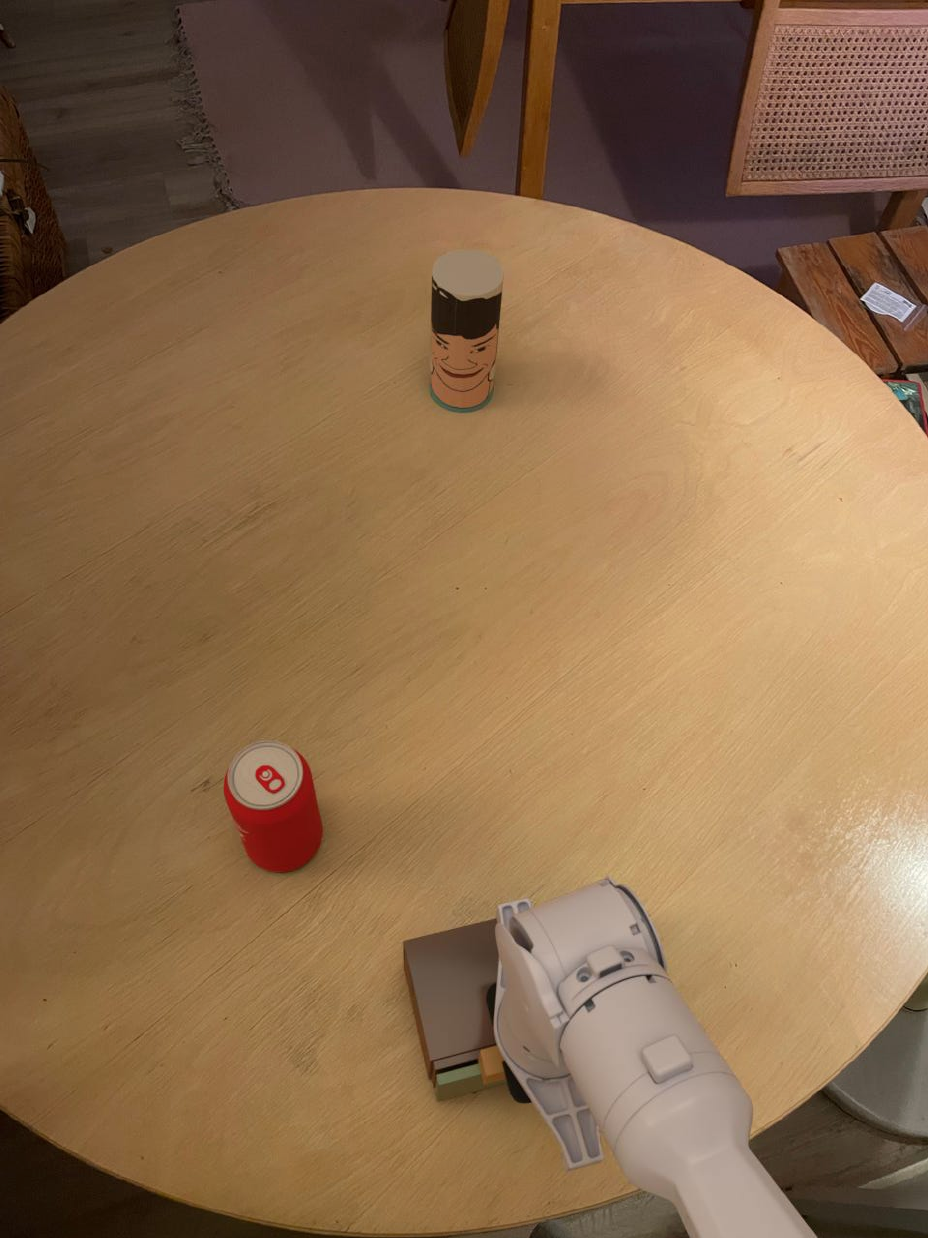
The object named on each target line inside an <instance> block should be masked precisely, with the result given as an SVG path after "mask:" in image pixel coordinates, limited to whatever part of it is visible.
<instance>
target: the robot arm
mask: <svg viewBox="0 0 928 1238" xmlns="http://www.w3.org/2000/svg"><path fill="white" fill-rule="evenodd" d="M495 919H497V922H498V923H497V924H496V926H495V936H496V942H497V947H498V952H499V961H498V973H497V982H496V983H494V984H493V985H491V986H490V988H489V989H488V991H487V994H486V1003H487V1007H488V1010H489V1014H490V1018H491V1022H492V1026H493V1028H494V1036H495V1040H496V1044H497V1046H498V1049H499V1051H500V1053H501V1055H502V1057H503V1058H504V1060H505V1061H502V1065H503V1069H504V1073H505V1077H506V1081H507V1083H506V1085H507V1088H508V1092H509V1094H510V1097H511V1098H512V1100H513V1101H514V1102H515V1103H518V1104H524V1105H525V1104H526V1105H527V1104H531V1103H532V1104H533V1106H534V1107H535V1109H536V1111H537V1112H538V1113H539V1115H540V1116H541V1118H542V1119H543V1121H544V1122H545V1125H546V1126H547V1127H548V1130H550V1132H551V1134H552V1135H553V1137H554V1138H555V1140H556V1141H557V1142H556V1143H557V1144H558V1146H559V1149H560V1151H561V1153H560V1157H561V1161H562V1165H563V1168H564V1172H565V1173H569V1172H572V1171H576V1170H580V1169H583V1168H584V1169H585V1168H587V1167H590V1166H594V1165H597V1164H600V1163H601V1162H602V1161H604V1160H605V1159H606V1156H605V1151H604V1147H603V1143H602V1137H601V1134H602V1136H603V1137H604V1140H605V1142H606V1144H607V1145H608V1147H609V1149H610V1151H611V1153H612V1155H613V1157H614V1158H615V1160H616V1162H617V1164H618V1166H619V1168H620V1170H621V1172H622V1173H623V1176H624V1177H625V1179H626V1180H627V1182H628V1183H629V1184H630V1185H632V1186H633V1187H635V1188H637V1189H639V1190H641V1191H644V1192H646V1193H649V1194H652V1195H654V1196H658V1197H660V1198H663V1199H665V1200H667V1201H669V1202H670V1203H672V1204H673V1205H674V1206H675V1209H676V1210H677V1213H678V1215H679V1217H680V1219H681V1221H682V1224H683V1225H684V1228H685V1231H686V1232H687V1235H688V1236H689V1238H818V1236H817V1235H816V1233H814V1231H813V1230H812V1228H811V1227H810V1226H809V1225H808V1223H807V1222H806V1221H805V1219H804V1218H803V1216H802V1215H801V1214H800V1213H799V1211H798V1210H797V1209H796V1207H795V1206H794V1205H793V1203H791V1201H790V1199H789V1198H788V1197H787V1196H786V1194H785V1193H784V1192H783V1190H782V1189H781V1188H780V1186H779V1185H778V1184H777V1183H776V1181H775V1180H774V1179H773V1177H772V1175H770V1173H769V1172H768V1170H766V1168H765V1166H764V1165H763V1164H762V1163H761V1161H760V1160H759V1159H758V1158H757V1156H756V1155H755V1154H754V1152H753V1151H752V1150H751V1148H750V1146H749V1144H750V1138H751V1131H752V1127H753V1126H752V1124H753V1120H754V1105H753V1102H752V1098H751V1096H750V1095H749V1093H748V1092H747V1091H746V1089H745V1088H744V1086H743V1085H742V1083H741V1082H740V1080H739V1078H738V1077H737V1075H736V1074H735V1073H734V1071H733V1070H732V1068H731V1066H730V1065H729V1064H728V1061H726V1059H725V1058H724V1056H723V1055H722V1053H721V1052H720V1050H718V1048H717V1046H716V1044H714V1042H713V1040H712V1039H711V1037H710V1036H709V1035H708V1033H707V1031H706V1030H705V1029H704V1027H703V1025H702V1024H701V1022H700V1021H699V1020H698V1018H697V1017H696V1016H695V1014H694V1013H693V1011H692V1009H691V1008H690V1007H689V1005H688V1003H687V1002H686V1001H685V999H684V997H683V995H681V993H680V991H679V990H678V989H677V987H676V986H675V983H674V982H673V981H672V980H671V978H670V976H669V975H668V967H667V966H668V965H667V960H666V955H665V950H664V947H663V944H662V941H661V938H660V936H659V933H658V931H657V928H656V926H655V923H654V921H653V919H652V918H651V917H650V914H649V911H648V910H647V908H646V907H645V905H644V903H643V902H642V900H641V899H640V898H639V896H638V895H637V894H636V892H635V891H634V890H633V889H632V888H631V887H629V886H628V885H627V884H624V883H619V884H617V883H616V882H615V881H614V879H613V878H612V877H611V876H610V875H607V876H605V877H604V879H599V880H597V881H594V882H592V883H589V884H587V885H584V886H582V887H578V888H577V889H574V890H572V891H569V892H567V893H564V894H562V895H559V896H557V897H555V898H554V897H553V898H552V899H549V900H548V901H545V902H543V903H540V904H537V905H535V906H533V905H532V901H531V899H530V897H523V898H520V899H516V900H511V901H508V902H502V903H499V904H497V907H496V911H495Z"/></svg>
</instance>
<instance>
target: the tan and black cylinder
mask: <svg viewBox="0 0 928 1238" xmlns="http://www.w3.org/2000/svg"><path fill="white" fill-rule="evenodd" d="M504 276H505V273H504V268H503V266H502V264H501V263H500V262H499V261H498V259H496V258H495V257H494V256H492V255H491V254H490V253H487V252H483V251H481V250H477V249H470V248H464V249H456V250H451V251H449V252H446V253H444V254H443V255H441V256H439V257H438V258H437V260H436V261H434V262H433V265H432V269H431V301H430V302H431V305H430V306H431V307H430V355H429V357H430V358H429V360H430V361H429V393H430V397H431V398H432V399H433V401H434V402H435V403H436V404H437V405H439V407H441V408H443V409H445V410H448V411H449V412H454V413H455V412H456V413H471V412H475V411H477V410H478V411H479V410H480V409H482V408H484V407H485V406H486V405H488V404H489V402H490V401H491V400H492V398H493V393H494V389H495V388H494V387H495V377H496V376H495V375H496V365H497V353H498V344H499V332H500V321H501V310H502V300H503V288H504V278H505V277H504Z"/></svg>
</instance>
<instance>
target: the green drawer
mask: <svg viewBox="0 0 928 1238" xmlns="http://www.w3.org/2000/svg"><path fill="white" fill-rule="evenodd" d="M502 1061H505V1060H504V1058H503V1057H502V1055H501V1053H500V1051H499V1049H498V1046H494V1047H490V1048H486V1049H482V1050H480V1054H479V1057H478V1064H474V1065H471V1066H467V1067H463V1068H459V1069H456V1070H452V1071H448V1072H444V1073H441V1074H437V1075H436V1084H435V1088H434V1097H435V1102H436V1103H439V1102H440V1103H441V1102H444V1101H448V1100H450V1099H454V1098H458V1097H462V1096H466V1095H469V1094H473V1093H477V1092H480V1091H484V1090H488V1089H491V1088H495V1087H499V1086H502V1085H507V1081H506V1077H505V1073H504V1069H503V1065H502Z"/></svg>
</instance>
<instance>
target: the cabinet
mask: <svg viewBox="0 0 928 1238" xmlns="http://www.w3.org/2000/svg"><path fill="white" fill-rule="evenodd" d="M497 923H498V922H497V919H496V918H492V919H488V920H484V921H480V922H476V923H472V924H468V925H464V926H463V925H462V926H460V927H455V928H452V929H447V930H443V931H438V932H435V933H431V934H426V935H424V936H423V935H422V936H419V937H415V938H410V939H407V940H406V939H405V940H403V941H402V947H403V949H402V950H403V951H402V952H403V954H402V955H403V971H404V975H405V980H406V984H407V988H408V989H407V990H408V992H409V997H410V1001H411V1006H412V1011H413V1015H414V1021H415V1025H416V1030H417V1034H418V1038H419V1039H418V1040H419V1043H420V1047H421V1051H422V1052H421V1053H422V1056H423V1061H424V1065H425V1070H426V1074H427V1078H428V1080H431V1085H432V1088H434V1089H435V1084H436V1075H437V1074H441V1073H444V1072H448V1071H452V1070H456V1069H459V1068H463V1067H467V1066H471V1065H474V1064H478V1057H479V1054H480V1050H482V1049H486V1048H490V1047H494V1046H497V1044H496V1040H495V1036H494V1028H493V1026H492V1022H491V1018H490V1014H489V1010H488V1007H487V1003H486V994H487V991H488V989H489V988H490V986H491V985H493V984H494V983H496V982H497V973H498V961H499V952H498V947H497V942H496V936H495V926H496V924H497Z"/></svg>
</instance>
